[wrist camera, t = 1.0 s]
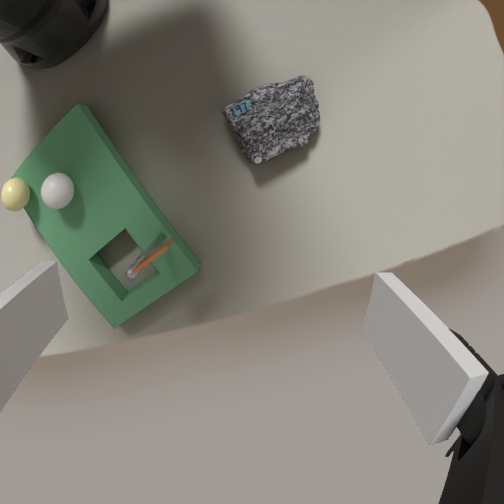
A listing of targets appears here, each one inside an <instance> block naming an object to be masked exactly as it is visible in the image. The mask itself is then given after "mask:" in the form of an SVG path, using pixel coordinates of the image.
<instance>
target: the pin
mask: <svg viewBox="0 0 504 504" xmlns="http://www.w3.org/2000/svg"><path fill="white" fill-rule="evenodd" d="M165 238H166V236H165V234H164V233H160V234H159V235H158V236H157V237H156V238H155V239H154V241H153V242H152V243H151V244H150V245H149V246H148V247H147V248H146V249H145V251H144V252H143V253H142V254H141V255H140V256H139V257H138V258H137V260H136V261H135V262H134V263H133V264H132V265H131V267H130V268H129V269H128V270H127V271H126V273H125V276H126V278H127V279H129V280H133V279H134V278H135V276H136V275H137V274H138V272H139V271H140V270H141V269H142V268H143V267H145V266H146V265H147V264H149V263H150V262H151V261H153V260H154V259H155V258H157V257H158V256H159V255H161V254H162V253H164V252H165V251H166V250H168V249H169V247H170V246H171V244H172V243H173V241H174V239H173V238H170V239H169V240H167V241H166V242H165V243H163V244H162V245H161V246H160V244H161V243H162V242H163V241H164V239H165Z"/></svg>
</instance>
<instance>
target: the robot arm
mask: <svg viewBox="0 0 504 504" xmlns="http://www.w3.org/2000/svg"><path fill="white" fill-rule="evenodd" d="M107 2H108V0H0V43H1V44H2V46H3V47H4V48H5V49H6V50H7V51H8V53H9V54H10V55H11V56H12V57H13V58H14V59H15V60H16V61H17V62H19V63H20V64H22V65H25V66H29V67H32V68H38V69H39V68H47V67H51V66H54V65H56V64H58V63H61V62H62V61H64V60H66V59H67V58H69V57H70V56H72V55H73V54H74V53H75V52H77V51H78V50H79V49H80V48H81V47H82V46H83V45H84V44H85V43H86V42H87V41H88V40H89V38H90V37H91V36H92V35H93V33H94V32H95V30H96V29H97V27H98V26H99V24H100V22H101V20H102V18H103V16H104V13H105V11H106V7H107ZM67 320H68V315H67V311H66V307H65V302H64V298H63V293H62V288H61V283H60V278H59V273H58V267H57V262H56V261H42V262H41V263H39V264H38V265H37V266H35V267H34V268H33V269H31V270H30V271H29V272H27V273H26V274H25V275H24V276H22V277H21V278H20V279H18V280H17V281H16V282H15V283H13V284H12V285H11V286H10V287H9V288H7V289H6V290H5V291H4V292H2V293H1V294H0V412H1V411H2V409H3V408H4V406H5V405H6V403H7V402H8V400H9V399H10V397H11V396H12V394H13V393H14V391H15V390H16V388H17V387H18V385H19V384H20V382H21V381H22V380H23V378H24V377H25V375H26V374H27V372H28V371H29V370H30V368H31V367H32V365H33V364H34V363H35V361H36V360H37V359H38V357H39V356H40V355H41V353H42V352H43V351H44V349H45V348H46V347H47V345H48V344H49V343H50V341H51V340H52V339H53V337H54V336H55V335H56V334H57V332H58V331H59V330H60V328H61V327H62V326H63V325H64V323H65V322H66V321H67ZM363 332H364V334H365V335H366V337H367V338H368V340H369V342H370V343H371V345H372V346H373V348H374V350H375V352H376V353H377V355H378V357H379V358H380V360H381V361H382V363H383V365H384V367H385V368H386V370H387V372H388V373H389V375H390V377H391V379H392V380H393V382H394V384H395V386H396V387H397V389H398V391H399V393H400V394H401V396H402V398H403V400H404V401H405V403H406V405H407V407H408V408H409V410H410V412H411V414H412V416H413V417H414V419H415V421H416V423H417V425H418V426H419V428H420V430H421V432H422V434H423V436H424V438H425V439H426V441H427V443H428V445H433V444H436V443H439V442H442V441H445V440H448V438H449V437H450V436H451V434H452V433H453V431H454V430H455V428H456V427H457V428H458V429H459V431H460V433H461V434H460V436H459V437H458V438H457V440H456V441H455V443H454V444H453V445H452V447H451V448H450V449H449V450H448V452H447V454H446V457H448V456H449V455H450V454H451V452H452V451H454V453H453V457H452V461H451V465H450V469H449V472H448V476H447V480H446V482H445V486H444V489H443V492H442V495H441V498H440V501H439V504H504V374H502V375H499V376H498V375H497V374H496V373H495V372H494V371H493V370H492V369H491V368H490V367H489V365H488V364H487V363H486V362H485V361H484V360H483V359H482V358H481V357H480V356H479V355H478V354H477V353H475V350H474V349H473V348H472V347H471V346H469V344H468V343H467V342H466V341H465V340H464V339H463V337H462V336H460V335H459V334H457V333H456V332H454V331H453V330H451V329H449V328H447V327H446V326H445V325H444V324H443V323H442V322H441V321H440V320H439V319H438V318H437V316H436V315H435V314H433V312H432V311H430V309H429V308H428V307H426V305H424V304H423V302H422V301H421V300H419V299H418V298H417V297H416V296H415V295H414V294H413V293H412V292H411V291H410V290H409V289H408V288H407V287H406V286H405V285H404V284H403V283H402V282H401V281H400V280H399V279H398V278H397V277H396V276H394V275H393V274H392V273H376V274H375V279H374V284H373V288H372V293H371V298H370V301H369V306H368V310H367V314H366V318H365V322H364V326H363Z"/></svg>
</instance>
